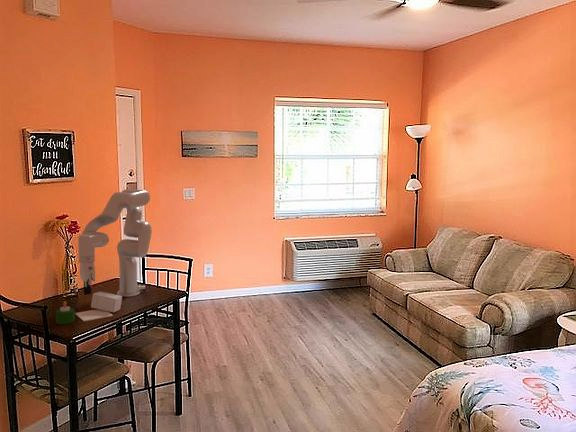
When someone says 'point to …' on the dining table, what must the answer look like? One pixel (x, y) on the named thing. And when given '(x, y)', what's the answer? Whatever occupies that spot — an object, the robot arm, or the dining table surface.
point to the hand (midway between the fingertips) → (87, 293)
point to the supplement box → (106, 301)
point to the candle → (65, 314)
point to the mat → (93, 314)
